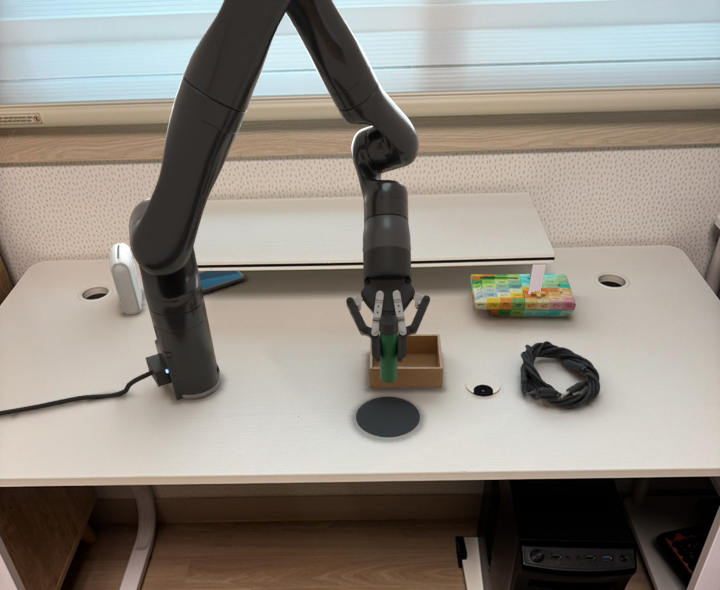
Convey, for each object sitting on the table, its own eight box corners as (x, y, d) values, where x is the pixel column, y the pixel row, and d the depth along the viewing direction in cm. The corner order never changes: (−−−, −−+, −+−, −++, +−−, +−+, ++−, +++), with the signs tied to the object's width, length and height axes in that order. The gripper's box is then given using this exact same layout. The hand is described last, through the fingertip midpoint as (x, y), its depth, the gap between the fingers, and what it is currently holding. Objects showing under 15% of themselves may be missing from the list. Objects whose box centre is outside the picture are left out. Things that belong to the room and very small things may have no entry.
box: (369, 389, 125) (369, 368, 122) (370, 354, 133) (370, 334, 130) (441, 389, 125) (443, 368, 122) (438, 354, 133) (439, 334, 130)
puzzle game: (576, 299, 137) (475, 299, 138) (572, 320, 140) (472, 319, 141) (567, 270, 145) (471, 270, 146) (562, 291, 148) (469, 290, 149)
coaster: (377, 447, 114) (377, 445, 114) (344, 411, 121) (344, 409, 120) (432, 425, 118) (432, 422, 117) (397, 391, 125) (397, 389, 124)
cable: (518, 350, 133) (521, 331, 130) (593, 356, 131) (598, 336, 128) (518, 405, 121) (521, 385, 118) (600, 412, 119) (606, 392, 116)
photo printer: (123, 292, 152) (107, 238, 143) (143, 289, 153) (128, 236, 144) (122, 316, 145) (105, 261, 136) (143, 313, 146) (128, 258, 137)
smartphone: (170, 285, 153) (169, 282, 153) (231, 266, 159) (231, 262, 159) (183, 300, 149) (182, 296, 148) (246, 279, 155) (246, 276, 154)
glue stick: (385, 385, 112) (385, 326, 104) (376, 376, 114) (375, 317, 106) (400, 379, 113) (401, 320, 105) (391, 370, 115) (391, 312, 107)
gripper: (341, 244, 105) (343, 358, 105) (433, 242, 105) (436, 356, 105) (343, 260, 112) (345, 366, 112) (429, 258, 112) (431, 364, 112)
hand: (389, 360), depth 109 cm, fingers closed on glue stick, 2 cm apart
